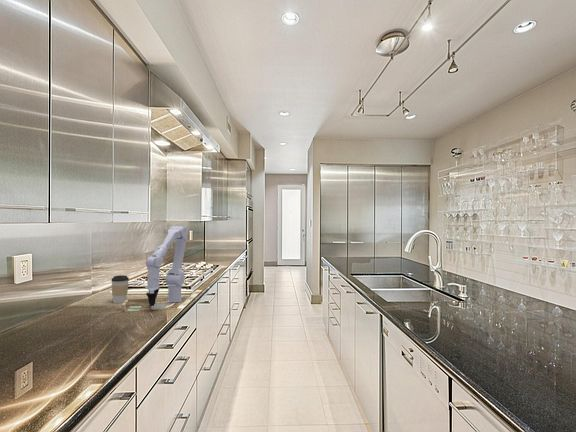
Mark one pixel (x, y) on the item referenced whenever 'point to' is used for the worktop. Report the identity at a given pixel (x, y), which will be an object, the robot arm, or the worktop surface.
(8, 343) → the worktop surface
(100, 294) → the worktop surface
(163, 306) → the block
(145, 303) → the wooden corner frame
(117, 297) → the coffee cup
